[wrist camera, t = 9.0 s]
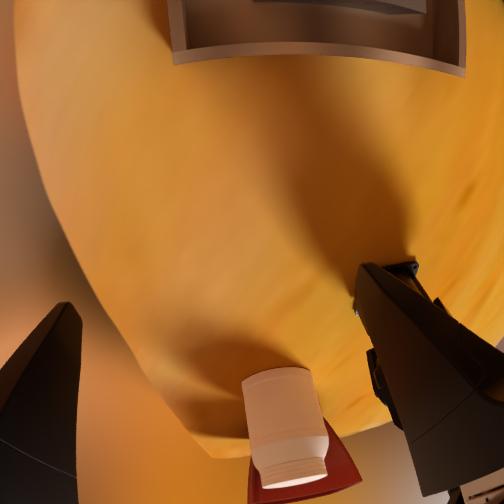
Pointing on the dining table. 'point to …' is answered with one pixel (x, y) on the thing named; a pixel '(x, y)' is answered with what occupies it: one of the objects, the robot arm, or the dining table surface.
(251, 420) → the jar
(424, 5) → the block
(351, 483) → the plant pot
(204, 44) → the brown tray
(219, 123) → the dining table surface
